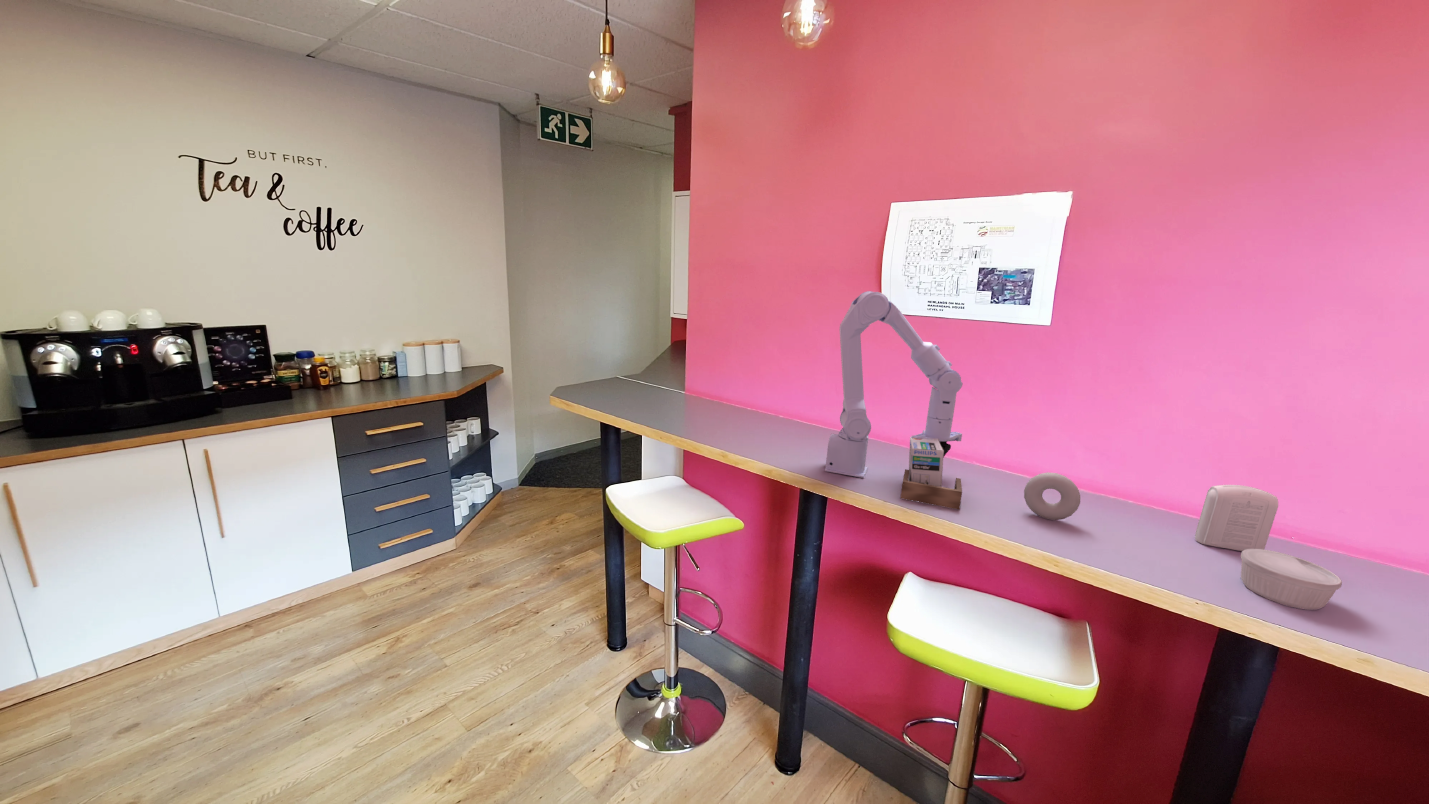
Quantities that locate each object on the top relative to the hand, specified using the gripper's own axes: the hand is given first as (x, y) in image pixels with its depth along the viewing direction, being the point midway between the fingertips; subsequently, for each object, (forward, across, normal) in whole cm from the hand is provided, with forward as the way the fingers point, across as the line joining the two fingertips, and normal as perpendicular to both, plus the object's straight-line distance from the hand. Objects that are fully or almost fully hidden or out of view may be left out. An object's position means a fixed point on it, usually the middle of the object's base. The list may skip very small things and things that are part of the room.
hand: (932, 470), depth 133 cm
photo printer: (+2, -30, +46) cm, 55 cm away
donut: (+2, -6, +26) cm, 27 cm away
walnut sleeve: (+2, +10, +9) cm, 13 cm away
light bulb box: (+2, +7, +5) cm, 9 cm away
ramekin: (+2, -17, +59) cm, 61 cm away
